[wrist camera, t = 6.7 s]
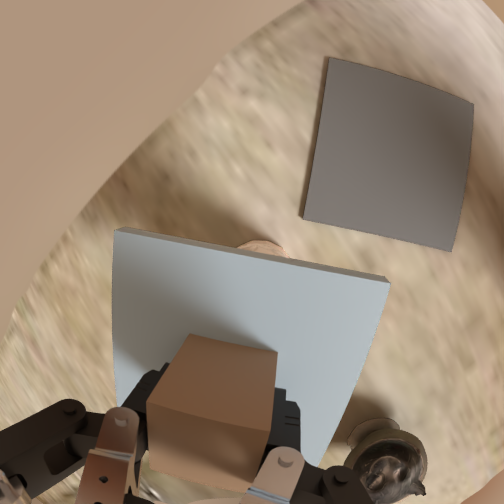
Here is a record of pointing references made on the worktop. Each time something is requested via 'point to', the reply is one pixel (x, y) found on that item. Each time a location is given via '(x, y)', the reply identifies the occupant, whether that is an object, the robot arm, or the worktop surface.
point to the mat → (390, 156)
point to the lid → (235, 348)
